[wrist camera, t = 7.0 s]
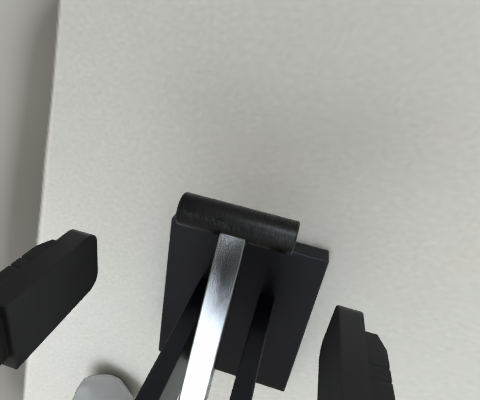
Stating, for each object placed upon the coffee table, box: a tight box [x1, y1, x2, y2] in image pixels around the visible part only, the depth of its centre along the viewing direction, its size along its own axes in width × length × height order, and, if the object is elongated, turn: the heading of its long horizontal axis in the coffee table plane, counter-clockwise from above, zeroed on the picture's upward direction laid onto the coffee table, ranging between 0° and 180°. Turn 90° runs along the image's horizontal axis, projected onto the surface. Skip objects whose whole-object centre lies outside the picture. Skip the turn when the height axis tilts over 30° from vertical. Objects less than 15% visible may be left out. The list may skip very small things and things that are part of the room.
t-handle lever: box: [176, 192, 300, 400], centre depth 16 cm, size 13×5×2 cm, turn 170°
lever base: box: [135, 214, 329, 400], centre depth 20 cm, size 12×10×13 cm
